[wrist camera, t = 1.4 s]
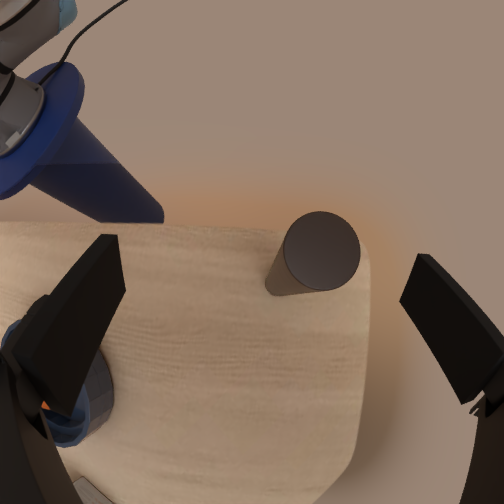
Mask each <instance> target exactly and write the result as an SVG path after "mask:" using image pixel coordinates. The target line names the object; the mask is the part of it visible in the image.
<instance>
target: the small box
mask: <svg viewBox="0 0 504 504" xmlns="http://www.w3.org/2000/svg"><path fill="white" fill-rule="evenodd" d="M73 485H74V487H75V489H76V491H77V493H78V494H79V496H80V498H81V500H82V502H83V503H84V504H113V503H112V502H111V501H109V500H108V499H107V498H106V497H105V496H104V495H102V494H101V493H100V492H99V491H98V490H97V489H96V488H95V487H94V486H93V485H92V484H90V483H89V482H88V481H87V480H86V479H85V478H84V477H81V478H80V479H78V480H77V481H75V482H74V483H73Z"/></svg>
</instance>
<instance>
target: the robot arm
mask: <svg viewBox="0 0 504 504" xmlns="http://www.w3.org/2000/svg"><path fill="white" fill-rule="evenodd" d="M126 1H128V0H122V1H120V2H119V3H117V4H116V5H114V6H113V7H111V8H110V9H108V10H107V11H106V12H104V13H103V14H102V15H100V16H99V17H98V18H96V19H95V20H94V21H92V22H91V23H90V24H89V25H87V26H86V27H85V28H84V29H83V30H82V31H80V32H79V33H78V34H77V35H76V36H75V38H74V39H73V40H72V41H71V43H70V44H69V46H68V48H67V49H66V51H65V53H64V55H63V57H62V58H61V60H60V61H59V62H58V64H57V65H56V66H55V67H54V68H53V69H52V70H50V71H49V72H48V73H47V74H46V75H45V76H44V77H43V78H42V79H41V80H40V81H39V82H38V84H36V83H34V82H31V81H29V80H26V79H24V78H21V77H18V76H17V75H16V74H15V73H14V72H13V70H14V69H15V68H16V67H17V66H18V65H19V64H20V63H21V62H23V61H24V60H25V59H26V58H27V57H28V56H29V55H31V54H32V53H33V52H34V51H36V50H37V49H38V48H39V47H41V46H42V45H44V44H45V43H46V42H47V41H49V40H50V39H52V38H53V37H54V36H56V35H58V34H59V33H60V31H62V30H63V29H64V28H66V27H67V26H68V25H70V24H71V23H72V22H73V21H74V20H75V18H76V16H77V7H76V3H75V0H0V159H1V158H5V157H7V156H9V155H11V154H12V153H13V152H15V151H16V150H17V149H18V148H19V147H20V146H21V145H22V144H23V143H24V142H25V140H26V139H27V138H28V137H29V135H30V134H31V133H32V131H33V130H34V128H35V127H36V125H37V123H38V122H39V120H40V118H41V116H42V114H43V111H44V109H45V106H46V102H47V94H46V92H45V90H44V89H43V88H42V87H41V85H42V84H43V83H44V82H45V81H46V80H47V79H48V78H49V77H50V76H51V75H52V74H53V73H54V72H55V71H56V70H57V69H58V68H59V67H60V66H61V65H62V63H63V62H64V61H65V59H66V57H67V56H68V54H69V52H70V50H71V48H72V46H73V44H74V43H75V42H76V40H77V39H78V38H79V37H80V36H81V35H82V34H83V33H84V32H85V31H87V30H88V29H89V28H90V27H91V26H93V25H94V24H95V23H97V22H98V21H99V20H101V19H102V18H103V17H104V16H106V15H107V14H108V13H110V12H111V11H113V10H114V9H115V8H117V7H118V6H120V5H121V4H123V3H124V2H126ZM125 292H126V288H125V282H124V277H123V271H122V264H121V258H120V251H119V244H118V236H117V235H113V234H101V235H100V236H99V237H98V238H97V239H96V240H95V241H94V242H93V243H92V245H91V246H90V247H89V248H88V249H87V250H86V251H85V252H84V254H83V255H82V256H81V257H80V258H79V259H78V261H77V262H76V263H75V264H74V265H73V266H72V268H71V269H70V270H69V271H68V273H67V274H66V275H65V276H64V277H63V279H62V280H61V281H60V282H59V284H58V285H57V286H56V287H55V289H54V290H53V291H52V293H51V294H50V295H44V296H42V297H41V298H39V299H38V300H37V301H35V302H34V303H33V305H32V306H31V307H30V309H29V310H28V311H27V314H26V315H24V317H23V318H22V319H21V323H19V324H18V325H17V326H16V328H15V329H14V331H13V332H12V334H11V335H10V337H9V338H8V340H7V341H6V343H5V344H4V346H3V347H2V349H1V350H0V504H84V503H83V502H82V500H81V498H80V496H79V494H78V493H77V491H76V489H75V487H74V485H73V483H72V481H71V479H70V477H69V475H68V473H67V471H66V469H65V466H64V464H63V462H62V460H61V458H60V455H59V453H58V450H57V448H56V446H55V443H54V440H53V438H52V435H51V432H50V430H49V427H48V424H47V421H46V418H45V415H44V413H43V411H42V409H41V406H42V404H43V401H44V402H45V403H46V404H47V406H48V407H49V408H50V409H51V411H54V412H57V413H59V414H62V415H65V416H68V417H71V416H72V413H73V410H74V408H75V405H76V402H77V399H78V397H79V394H80V392H81V389H82V386H83V384H84V381H85V379H86V376H87V374H88V372H89V369H90V367H91V364H92V362H93V360H94V357H95V355H96V353H97V350H98V348H99V346H100V344H101V341H102V339H103V337H104V335H105V333H106V331H107V328H108V326H109V324H110V322H111V320H112V318H113V316H114V314H115V312H116V310H117V308H118V306H119V304H120V302H121V300H122V298H123V296H124V294H125ZM399 302H400V303H401V305H402V306H403V308H404V309H405V311H406V312H407V314H408V315H409V317H410V318H411V320H412V321H413V323H414V324H415V326H416V327H417V329H418V330H419V332H420V334H421V335H422V337H423V338H424V340H425V342H426V343H427V345H428V346H429V348H430V349H431V351H432V353H433V355H434V356H435V358H436V360H437V361H438V363H439V365H440V366H441V368H442V370H443V372H444V373H445V375H446V377H447V379H448V381H449V382H450V384H451V386H452V388H453V390H454V392H455V393H456V395H457V397H458V399H459V401H460V403H461V405H462V404H465V403H467V402H470V401H472V400H474V399H475V398H476V396H477V395H478V394H479V393H480V392H481V391H482V390H483V391H484V393H485V395H484V396H483V397H482V398H481V399H480V400H479V401H478V402H477V403H476V404H475V405H474V406H473V407H472V409H471V410H470V412H469V414H472V413H473V411H475V410H476V409H477V408H479V409H478V410H477V411H476V413H475V414H474V416H477V417H478V424H477V431H476V437H475V444H474V449H473V454H472V459H471V463H470V467H469V472H468V476H467V479H466V483H465V487H464V490H463V493H462V497H461V500H460V503H459V504H504V336H503V335H502V334H501V332H500V331H499V330H498V329H497V328H496V326H495V325H494V324H493V322H492V321H491V320H490V319H489V318H488V316H487V315H486V314H485V313H484V312H483V311H482V309H481V308H480V307H479V306H478V305H477V304H476V303H475V301H474V300H473V299H472V298H471V297H470V296H469V295H468V294H467V292H466V291H465V290H464V289H463V288H462V287H461V286H460V285H459V284H458V283H457V282H456V281H455V280H454V279H453V278H452V277H451V275H450V274H449V273H447V271H446V270H445V269H444V268H443V267H442V266H440V264H439V263H438V262H437V261H436V260H435V259H433V257H431V256H430V255H429V254H419V253H418V254H417V257H416V260H415V263H414V265H413V268H412V271H411V273H410V276H409V279H408V281H407V284H406V286H405V289H404V291H403V293H402V296H401V298H400V301H399Z"/></svg>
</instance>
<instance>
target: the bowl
mask: <svg viewBox="0 0 504 504" xmlns="http://www.w3.org/2000/svg"><path fill="white" fill-rule="evenodd" d="M19 323H21V319H20V320H17V321H16V322H15V323H13V324H12V325H11V326H9V327H8V329H7V331H6V333H5V334H4V336H3V338H2V342H1V348H0V350H1V349H2V347H3V346H4V344H5V343H6V341H7V340H8V338H9V337H10V335H11V334H12V332H13V331H14V329H15V328H16V326H17V325H18V324H19ZM112 406H113V387H112V383H111V379H110V374H109V370H108V367H107V365H106V363H105V361H104V359H103V357H102V355H101V353H100V351H99V349H98V350H97V353H96V355H95V357H94V360H93V362H92V364H91V367H90V369H89V372H88V374H87V376H86V379H85V381H84V384H83V386H82V389H81V392H80V394H79V397H78V399H77V402H76V405H75V408H74V410H73V413H72V416H71V417H68V416H65V415H62V414H59V413H57V412H54V411H51V410H48V409H44V408H42V407H41V409H42V411H43V413H44V415H45V418H46V421H47V424H48V427H49V430H50V432H51V435H52V438H53V440H54V443H55V446H58V447H63V448H66V447H71V446H76V445H78V444H79V443H81V442H82V441H83V440H85V439H86V438H87V437H89V436H90V435H91V434H93V433H94V432H95V431H97V430H98V429H99V428H100V427H101V426H102V425H103V424H104V423H106V422H107V420H108V418H109V415H110V412H111V410H112Z"/></svg>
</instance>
